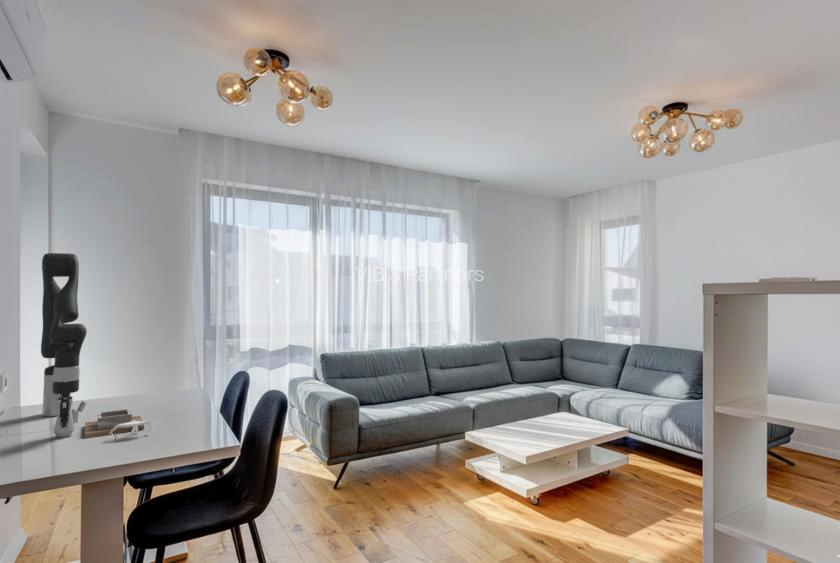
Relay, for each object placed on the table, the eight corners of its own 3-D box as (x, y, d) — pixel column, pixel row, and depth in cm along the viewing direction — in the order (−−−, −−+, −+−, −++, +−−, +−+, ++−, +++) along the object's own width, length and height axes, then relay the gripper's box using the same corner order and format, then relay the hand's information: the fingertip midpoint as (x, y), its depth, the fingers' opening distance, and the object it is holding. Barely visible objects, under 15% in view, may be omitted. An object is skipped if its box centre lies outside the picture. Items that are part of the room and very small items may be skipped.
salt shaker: (55, 439, 155) (57, 402, 156) (51, 436, 159) (52, 399, 159) (76, 435, 160) (77, 399, 161) (71, 432, 163) (72, 397, 164)
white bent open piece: (144, 430, 167) (144, 417, 167) (152, 435, 161) (153, 421, 161) (106, 438, 157) (107, 424, 158) (114, 443, 152) (114, 428, 152)
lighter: (65, 424, 174) (66, 404, 175) (63, 423, 175) (64, 403, 176) (86, 420, 181) (87, 400, 181) (84, 419, 181) (85, 400, 182)
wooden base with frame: (84, 426, 172) (85, 412, 172) (139, 419, 182) (140, 405, 183) (84, 437, 157) (85, 422, 158) (144, 429, 168) (144, 414, 168)
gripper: (54, 377, 164) (51, 424, 163) (51, 382, 152) (49, 433, 152) (79, 375, 168) (77, 421, 167) (79, 380, 157) (76, 430, 156)
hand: (64, 427), depth 159 cm, fingers closed on salt shaker, 3 cm apart
